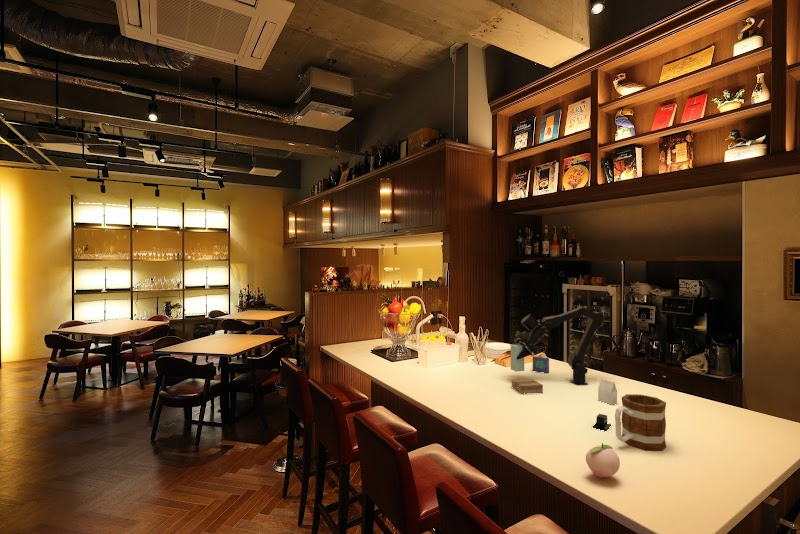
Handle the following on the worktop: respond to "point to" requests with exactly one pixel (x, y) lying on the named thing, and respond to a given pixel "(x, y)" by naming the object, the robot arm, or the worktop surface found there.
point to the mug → (641, 422)
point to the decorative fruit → (603, 460)
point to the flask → (541, 364)
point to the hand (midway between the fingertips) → (514, 357)
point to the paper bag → (607, 392)
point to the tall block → (516, 363)
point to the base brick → (527, 386)
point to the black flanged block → (601, 422)
